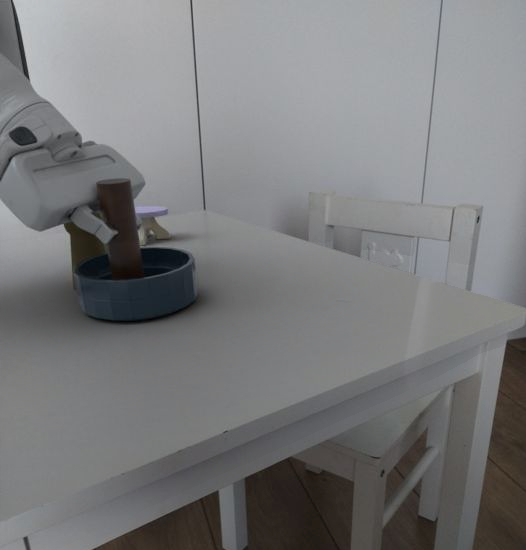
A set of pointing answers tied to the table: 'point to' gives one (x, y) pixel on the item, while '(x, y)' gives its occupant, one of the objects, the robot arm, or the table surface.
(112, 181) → the brown wooden cylinder
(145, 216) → the toy table
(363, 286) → the table surface
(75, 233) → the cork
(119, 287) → the bowl
